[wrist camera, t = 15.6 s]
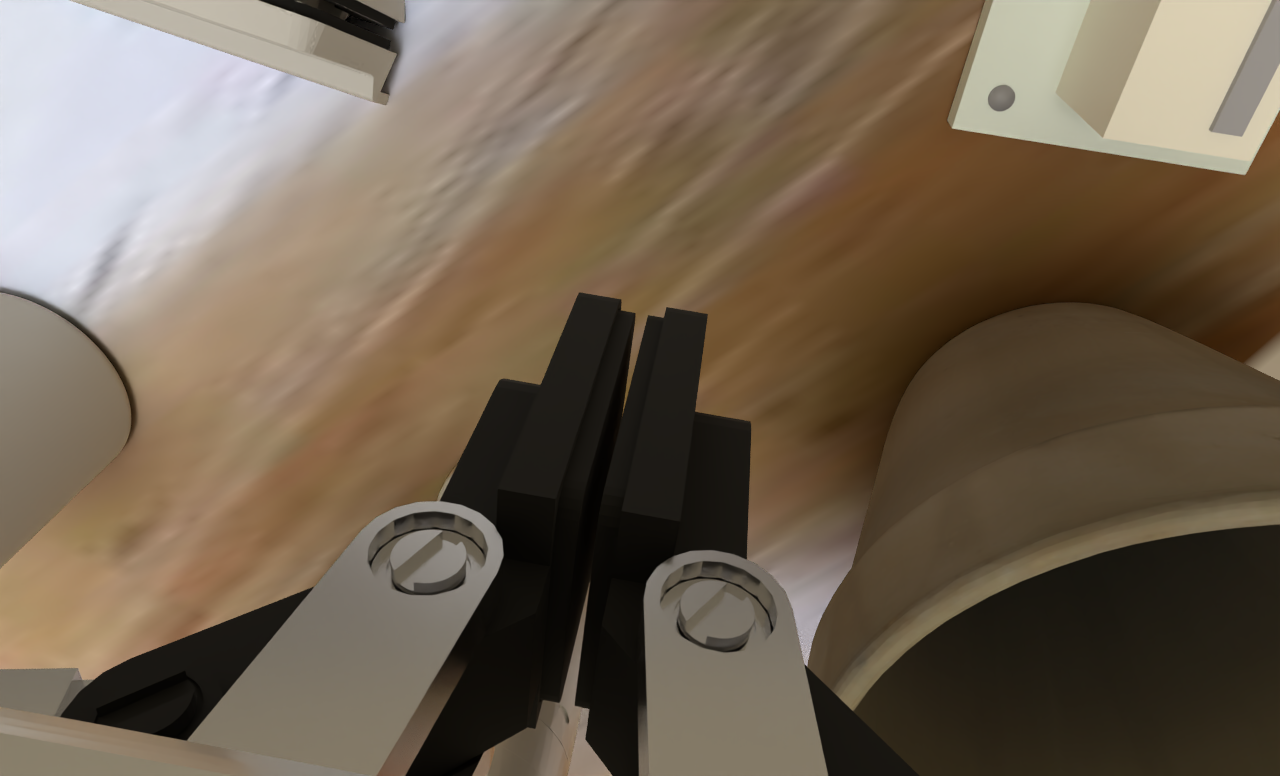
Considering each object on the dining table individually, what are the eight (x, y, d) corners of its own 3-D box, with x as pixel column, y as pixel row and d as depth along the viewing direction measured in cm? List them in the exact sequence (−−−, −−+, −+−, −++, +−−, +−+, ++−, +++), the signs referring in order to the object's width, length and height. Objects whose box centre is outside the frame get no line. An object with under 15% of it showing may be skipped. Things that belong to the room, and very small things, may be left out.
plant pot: (756, 235, 41) (743, 561, 23) (1362, 134, 35) (1980, 460, 17) (821, 608, 54) (846, 1006, 35) (1275, 578, 48) (1578, 1033, 30)
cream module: (1181, 112, 34) (1254, 163, 29) (1055, 92, 35) (1105, 140, 29) (1259, -55, 31) (1356, -31, 26) (1119, -76, 31) (1188, -55, 26)
